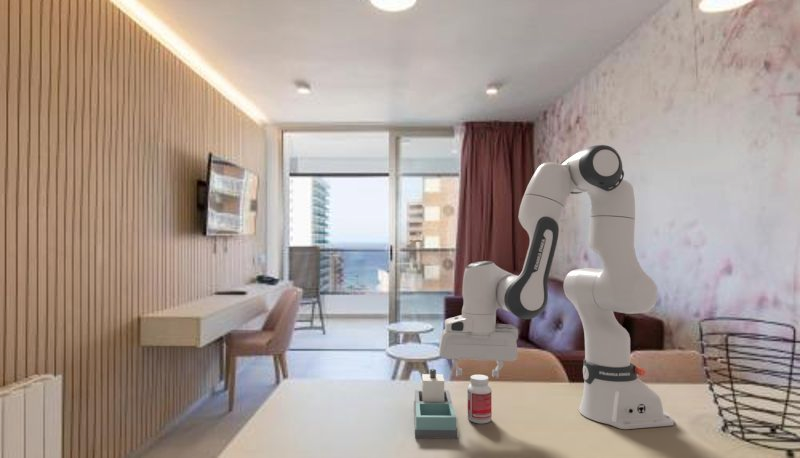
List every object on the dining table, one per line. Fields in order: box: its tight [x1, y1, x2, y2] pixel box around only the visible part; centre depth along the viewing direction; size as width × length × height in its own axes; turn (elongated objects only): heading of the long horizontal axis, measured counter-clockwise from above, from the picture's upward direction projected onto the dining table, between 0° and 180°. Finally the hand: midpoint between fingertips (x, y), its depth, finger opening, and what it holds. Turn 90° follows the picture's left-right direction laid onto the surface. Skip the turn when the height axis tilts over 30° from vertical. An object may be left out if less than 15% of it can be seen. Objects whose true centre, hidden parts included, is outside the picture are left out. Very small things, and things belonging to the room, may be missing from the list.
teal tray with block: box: [413, 368, 458, 439], centre depth 114 cm, size 10×18×12 cm, turn 179°
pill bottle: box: [467, 374, 493, 425], centre depth 116 cm, size 6×6×11 cm
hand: (477, 376), depth 116 cm, fingers open, 8 cm apart
